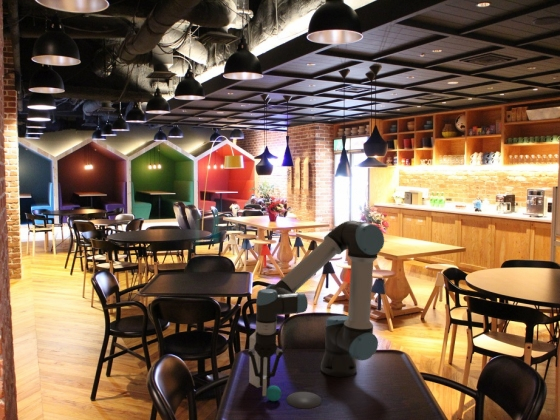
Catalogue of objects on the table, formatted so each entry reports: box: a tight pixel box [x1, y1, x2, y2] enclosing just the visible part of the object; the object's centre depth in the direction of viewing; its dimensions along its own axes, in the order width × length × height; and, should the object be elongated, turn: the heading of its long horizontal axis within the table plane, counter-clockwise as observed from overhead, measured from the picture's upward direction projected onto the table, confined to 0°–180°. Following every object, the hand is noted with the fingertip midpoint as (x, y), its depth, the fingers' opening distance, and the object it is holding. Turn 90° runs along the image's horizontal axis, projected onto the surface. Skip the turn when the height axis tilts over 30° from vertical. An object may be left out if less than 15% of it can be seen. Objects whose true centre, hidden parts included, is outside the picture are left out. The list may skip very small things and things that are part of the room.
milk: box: [248, 330, 267, 388], centre depth 196 cm, size 6×6×22 cm
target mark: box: [286, 391, 322, 409], centre depth 183 cm, size 13×13×1 cm
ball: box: [266, 385, 282, 402], centre depth 182 cm, size 6×6×6 cm
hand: (264, 394), depth 182 cm, fingers closed
